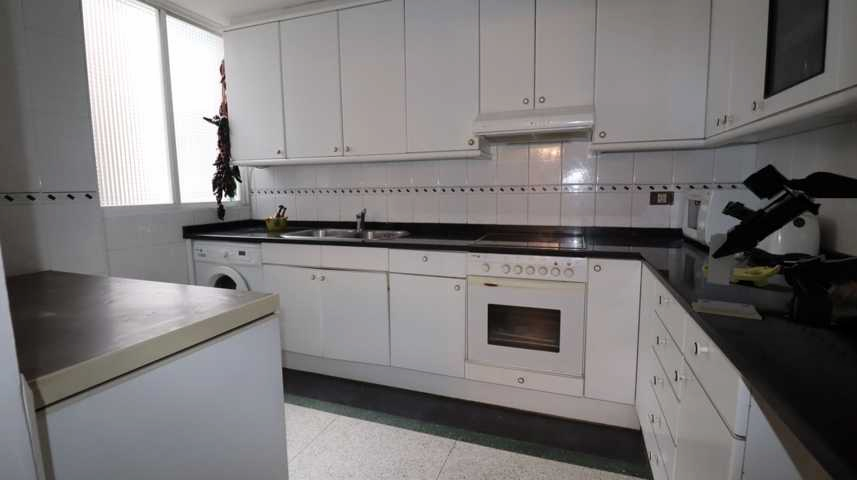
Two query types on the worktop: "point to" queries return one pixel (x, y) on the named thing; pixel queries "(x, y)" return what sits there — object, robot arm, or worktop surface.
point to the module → (720, 262)
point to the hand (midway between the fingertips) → (715, 255)
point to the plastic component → (751, 274)
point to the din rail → (726, 309)
